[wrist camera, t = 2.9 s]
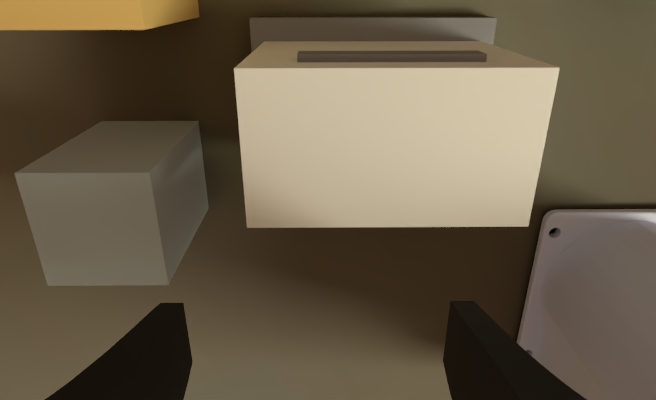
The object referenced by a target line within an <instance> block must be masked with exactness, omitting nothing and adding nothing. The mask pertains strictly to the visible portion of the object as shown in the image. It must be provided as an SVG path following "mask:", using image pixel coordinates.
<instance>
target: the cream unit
mask: <svg viewBox="0 0 656 400" xmlns="http://www.w3.org/2000/svg"><path fill="white" fill-rule="evenodd" d="M496 21H497V18H495V17H251V18H249V23H250V38H251V54H250V55H248V56H247V57H246V58H245V59H244V60H243V61H242V62H241V63H239V64H238V65H237V66H236V67H235V68H234V76H235V89H236V101H237V113H238V125H239V137H240V150H241V162H242V174H243V186H244V198H245V211H246V223H247V228H334V227H528V226H529V221H530V216H531V211H532V206H533V201H534V196H535V190H536V185H537V180H538V175H539V170H540V165H541V160H542V155H543V150H544V145H545V140H546V135H547V130H548V125H549V120H550V115H551V110H552V105H553V100H554V95H555V89H556V84H557V79H558V74H559V69H560V68H559V67H556V66H553V65H550V64H547V63H544V62H541V61H538V60H535V59H532V58H529V57H526V56H523V55H520V54H517V53H514V52H512V51H509V50H506V49H503V48H500V47H497V46H494V45H493V43H494V36H495V29H496Z"/></svg>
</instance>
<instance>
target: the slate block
mask: <svg viewBox="0 0 656 400" xmlns="http://www.w3.org/2000/svg"><path fill="white" fill-rule="evenodd" d="M14 174H15V178H16V181H17V184H18V188H19V191H20V194H21V198H22V201H23V204H24V208H25V211H26V215H27V218H28V221H29V225H30V228H31V231H32V235H33V238H34V241H35V245H36V248H37V252H38V255H39V258H40V262H41V265H42V268H43V272H44V275H45V278H46V282H47V285H48V286H116V285H169V283H170V281H171V280H172V278H173V276H174V274H175V272H176V270H177V268H178V266H179V264H180V262H181V260H182V259H183V257H184V255H185V253H186V251H187V249H188V247H189V245H190V243H191V241H192V239H193V237H194V236H195V234H196V232H197V230H198V228H199V226H200V224H201V222H202V220H203V218H204V216H205V215H206V213H207V211H208V209H209V205H208V197H207V188H206V180H205V171H204V163H203V154H202V146H201V137H200V129H199V121H101V122H99V123H98V124H96V125H94V126H93V127H91V128H89V129H87V130H86V131H84V132H82V133H81V134H79V135H77V136H76V137H74V138H72V139H71V140H69V141H67V142H66V143H64V144H62V145H61V146H59V147H57V148H56V149H54V150H52V151H51V152H49V153H47V154H46V155H44V156H42V157H41V158H39V159H37V160H36V161H34V162H32V163H31V164H29V165H27V166H26V167H24V168H22V169H20V170H19V171H17V172H15V173H14Z"/></svg>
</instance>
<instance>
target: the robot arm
mask: <svg viewBox="0 0 656 400" xmlns="http://www.w3.org/2000/svg"><path fill="white" fill-rule="evenodd" d="M553 228H557V229H556V231H555V232H554V233H552V234H549V232H550V230H551V229H553ZM527 350H529V351H527ZM526 351H527V352H526ZM443 362H444V367H445V372H446V376H447V381H448V385H449V390H450V394H451V397H452V400H656V209H557V210H551V211H549V212H547V213H546V214H545V215H544V217H543V220H542V224H541V229H540V234H539V239H538V243H537V248H536V253H535V257H534V262H533V267H532V272H531V276H530V281H529V286H528V291H527V295H526V300H525V305H524V310H523V314H522V319H521V324H520V329H519V333H518V338H517V343H516V342H515V341H514V340H513V339H512V338H511V337H510V336H509V335H508V334H507V333H506V332H505V331H504V330H503V329H502V328H501V327H500V326H498V325H497V324H496V323H495V322H494V321H493V320H492V319H491V318H490V317H489V316H488V315H487V314H486V313H485V312H484V311H483V310H482V309H481V308H480V307H479V306H478V305H477V304H476V303H475V302H474V301H451V303H450V311H449V319H448V326H447V334H446V342H445V349H444V357H443ZM191 366H192V356H191V350H190V343H189V337H188V331H187V324H186V318H185V311H184V305H183V303H160V304H159V305H158V306H157V307H155V308H154V309H153V310H152V311H151V312H150V313H149V314H148V315H147V316H146V317H144V318H143V319H142V320H141V321H140V322H139V323H138V324H137V325H136V326H135V327H134V328H133V329H131V330H130V331H129V332H128V333H127V334H126V335H125V336H124V337H123V338H121V339H120V340H119V341H118V342H117V343H116V344H115V345H114V346H112V347H111V348H110V349H109V350H108V351H107V352H106V353H104V354H103V355H102V356H101V357H100V358H98V359H97V360H96V361H95V362H93V363H92V364H91V365H90V366H89V367H87V368H86V369H85V370H84V371H82V372H81V373H80V374H79V375H77V376H76V377H75V378H74V379H73V380H71V381H70V382H69V383H67V384H66V385H65V386H63V387H62V388H61V389H59V390H58V391H56V392H55V393H54V394H52V395H51V396H49V397H48V398H47V399H45V400H183V399H184V395H185V391H186V387H187V383H188V379H189V375H190V370H191Z"/></svg>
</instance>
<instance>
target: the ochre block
mask: <svg viewBox="0 0 656 400" xmlns="http://www.w3.org/2000/svg"><path fill="white" fill-rule="evenodd" d="M198 17H200V16H199V7H198V0H0V30H146V29H151V28H155V27H159V26H163V25H168V24H172V23H176V22H181V21H185V20H189V19H194V18H198Z"/></svg>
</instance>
